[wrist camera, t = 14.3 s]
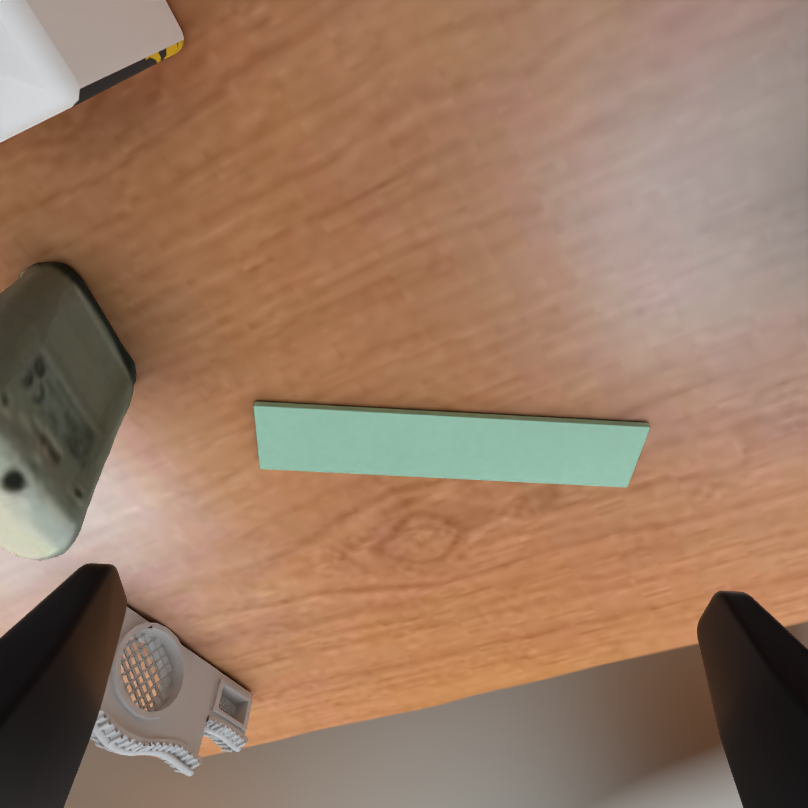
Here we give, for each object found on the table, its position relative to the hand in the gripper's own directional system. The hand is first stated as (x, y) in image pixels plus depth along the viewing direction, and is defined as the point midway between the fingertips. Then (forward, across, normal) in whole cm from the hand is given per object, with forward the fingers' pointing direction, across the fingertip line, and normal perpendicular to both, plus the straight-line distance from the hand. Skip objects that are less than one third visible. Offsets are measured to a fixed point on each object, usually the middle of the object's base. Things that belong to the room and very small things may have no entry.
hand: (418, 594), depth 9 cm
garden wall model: (+13, +11, +23) cm, 29 cm away
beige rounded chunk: (+13, +11, +4) cm, 18 cm away
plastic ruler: (+13, -2, +8) cm, 15 cm away
